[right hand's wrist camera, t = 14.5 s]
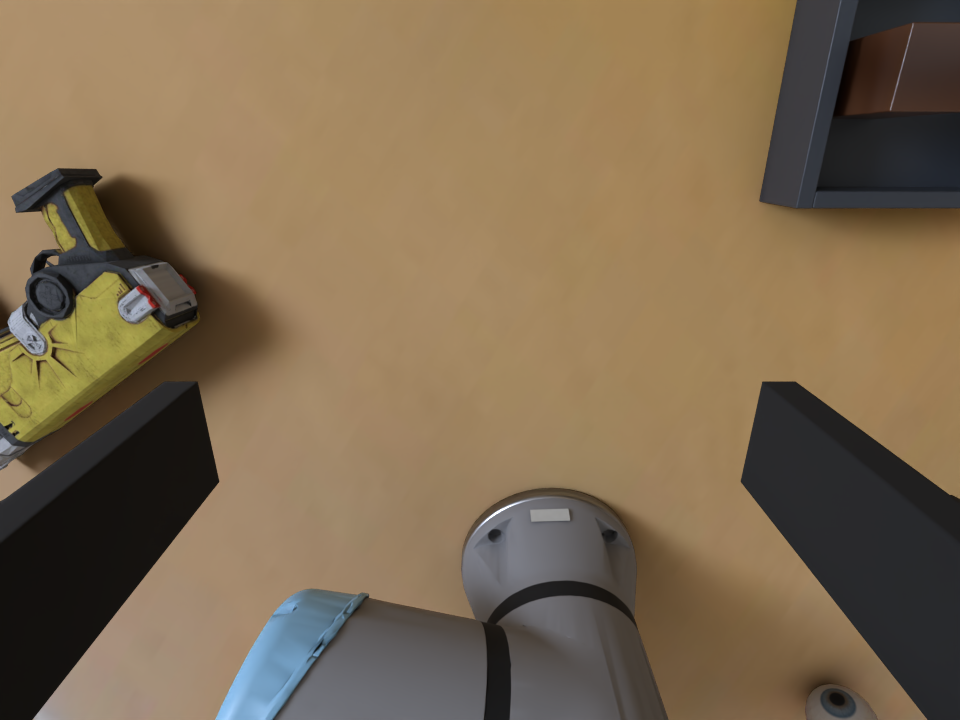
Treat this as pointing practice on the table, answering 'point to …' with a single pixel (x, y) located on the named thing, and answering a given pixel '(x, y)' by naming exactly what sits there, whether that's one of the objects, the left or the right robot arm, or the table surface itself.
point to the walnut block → (902, 73)
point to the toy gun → (81, 314)
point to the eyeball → (837, 704)
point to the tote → (855, 120)
